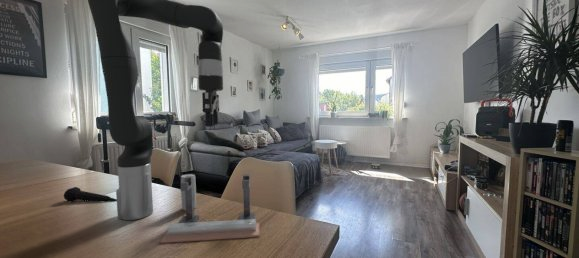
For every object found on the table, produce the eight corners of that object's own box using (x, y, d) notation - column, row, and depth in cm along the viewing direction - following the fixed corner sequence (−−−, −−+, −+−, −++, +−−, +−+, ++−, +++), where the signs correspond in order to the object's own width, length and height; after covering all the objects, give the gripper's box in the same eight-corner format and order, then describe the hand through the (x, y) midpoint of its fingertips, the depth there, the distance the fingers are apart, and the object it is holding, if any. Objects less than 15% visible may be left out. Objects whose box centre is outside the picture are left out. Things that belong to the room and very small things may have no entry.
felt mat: (160, 243, 64) (160, 240, 64) (170, 230, 71) (170, 228, 71) (259, 236, 67) (259, 234, 67) (259, 224, 74) (259, 222, 74)
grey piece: (191, 211, 84) (190, 177, 83) (178, 210, 85) (177, 177, 84) (199, 206, 89) (198, 174, 88) (187, 205, 89) (186, 173, 89)
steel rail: (167, 236, 67) (167, 227, 66) (170, 231, 69) (170, 223, 69) (255, 230, 69) (255, 222, 69) (255, 226, 72) (255, 218, 72)
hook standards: (176, 228, 72) (174, 182, 71) (183, 219, 78) (181, 176, 77) (254, 223, 75) (253, 179, 74) (254, 215, 81) (254, 174, 80)
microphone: (119, 207, 96) (70, 200, 96) (123, 192, 97) (74, 186, 98) (109, 208, 91) (57, 201, 91) (113, 192, 92) (62, 186, 92)
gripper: (203, 78, 85) (205, 124, 86) (192, 71, 71) (194, 127, 72) (225, 78, 86) (226, 124, 87) (218, 72, 71) (220, 127, 73)
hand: (212, 125), depth 79 cm, fingers open, 8 cm apart
